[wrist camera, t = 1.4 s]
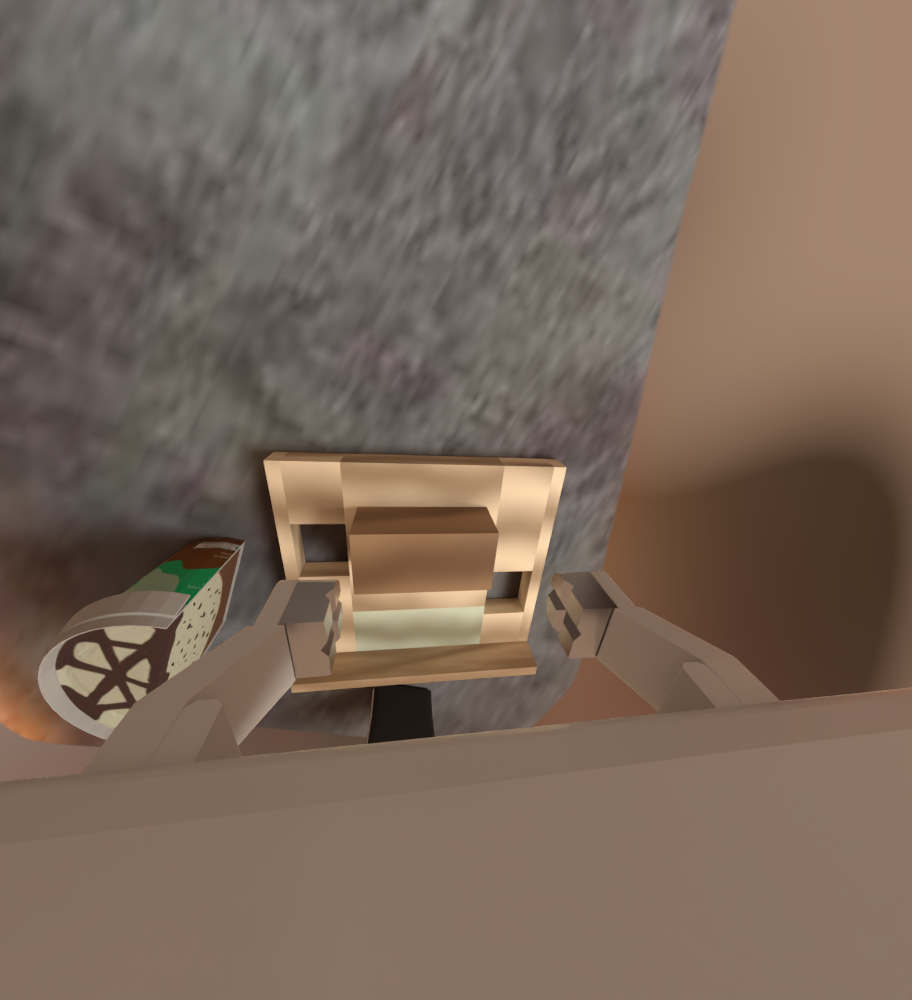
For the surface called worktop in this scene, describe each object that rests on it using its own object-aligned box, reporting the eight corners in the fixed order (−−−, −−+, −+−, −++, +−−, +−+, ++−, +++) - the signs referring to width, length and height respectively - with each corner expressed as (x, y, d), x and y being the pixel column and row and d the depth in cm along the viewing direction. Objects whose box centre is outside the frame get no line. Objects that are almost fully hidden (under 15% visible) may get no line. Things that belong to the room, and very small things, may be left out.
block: (357, 506, 25) (349, 534, 21) (486, 507, 26) (499, 533, 23) (361, 560, 27) (353, 594, 23) (480, 558, 28) (490, 589, 25)
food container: (159, 501, 25) (19, 592, 16) (248, 526, 26) (167, 621, 17) (145, 618, 29) (27, 742, 20) (222, 632, 31) (146, 752, 22)
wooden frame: (273, 451, 24) (243, 476, 20) (556, 459, 27) (585, 482, 23) (307, 644, 33) (292, 692, 28) (519, 632, 36) (535, 674, 31)
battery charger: (365, 701, 38) (349, 836, 27) (374, 680, 36) (361, 813, 26) (422, 708, 40) (428, 835, 29) (433, 687, 38) (443, 814, 28)
